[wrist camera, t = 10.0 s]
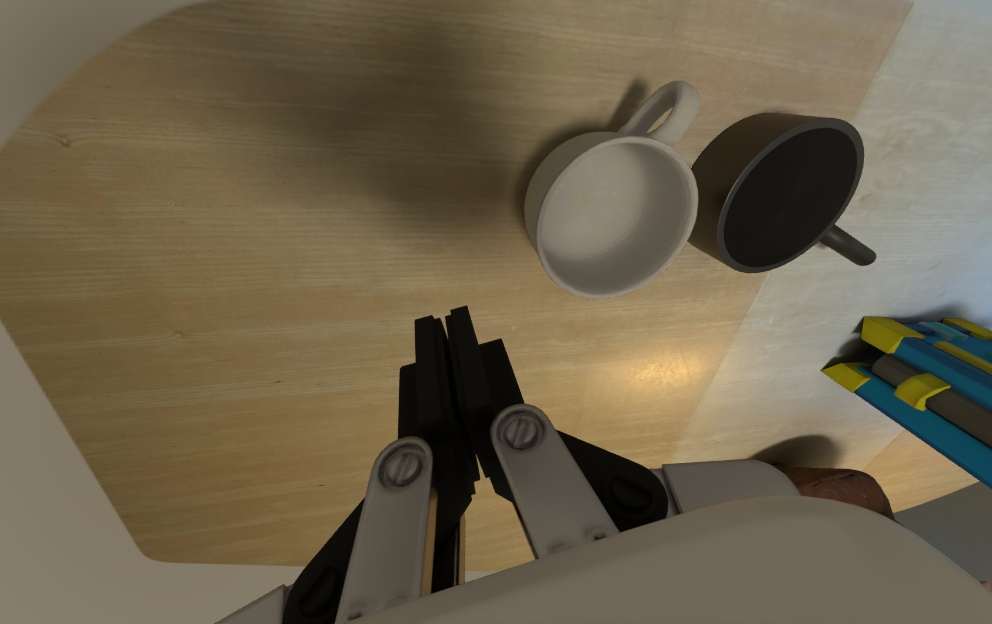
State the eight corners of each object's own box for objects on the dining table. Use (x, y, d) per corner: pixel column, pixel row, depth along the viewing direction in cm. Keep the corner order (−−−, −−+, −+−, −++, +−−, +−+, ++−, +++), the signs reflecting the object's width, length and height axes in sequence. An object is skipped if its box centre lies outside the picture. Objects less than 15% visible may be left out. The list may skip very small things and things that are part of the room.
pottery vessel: (675, 517, 69) (821, 760, 44) (756, 431, 56) (1022, 701, 32) (768, 510, 76) (937, 713, 52) (857, 433, 64) (1134, 651, 39)
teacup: (576, 276, 33) (616, 323, 27) (483, 216, 28) (505, 256, 22) (688, 143, 28) (771, 160, 22) (600, 42, 23) (673, 26, 17)
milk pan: (747, 83, 27) (808, 83, 23) (875, 190, 35) (938, 204, 30) (652, 225, 32) (687, 247, 28) (782, 290, 40) (825, 314, 36)
